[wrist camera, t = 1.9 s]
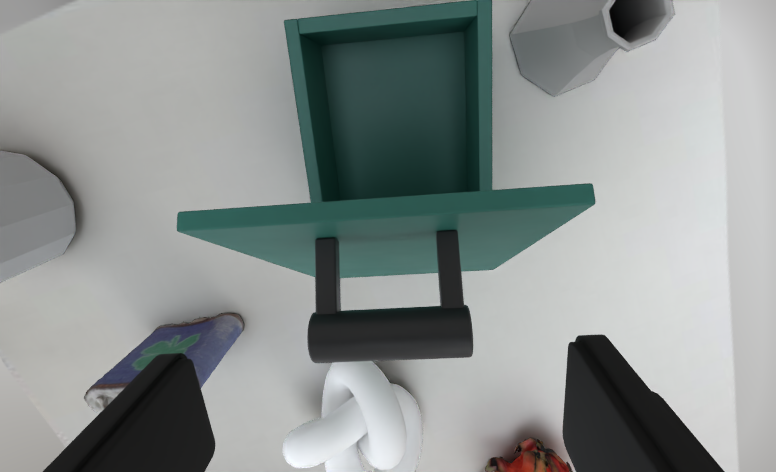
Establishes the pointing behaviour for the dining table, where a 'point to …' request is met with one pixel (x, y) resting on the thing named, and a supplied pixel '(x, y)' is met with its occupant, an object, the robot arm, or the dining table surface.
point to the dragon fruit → (530, 460)
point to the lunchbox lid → (392, 257)
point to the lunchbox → (395, 100)
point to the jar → (31, 215)
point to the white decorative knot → (359, 424)
